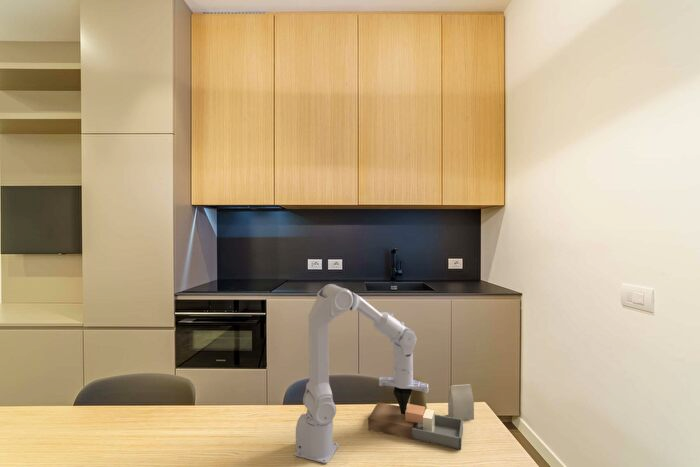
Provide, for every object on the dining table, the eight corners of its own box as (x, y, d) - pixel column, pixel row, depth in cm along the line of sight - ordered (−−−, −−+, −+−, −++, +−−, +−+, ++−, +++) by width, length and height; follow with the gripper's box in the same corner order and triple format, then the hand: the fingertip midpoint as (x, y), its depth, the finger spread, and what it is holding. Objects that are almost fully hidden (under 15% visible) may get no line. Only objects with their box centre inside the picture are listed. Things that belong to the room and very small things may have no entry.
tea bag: (473, 419, 106) (473, 387, 106) (453, 421, 105) (453, 388, 105) (468, 413, 109) (467, 381, 109) (448, 414, 108) (447, 383, 108)
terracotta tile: (405, 420, 99) (405, 411, 99) (408, 412, 103) (408, 403, 103) (422, 423, 97) (422, 415, 97) (425, 415, 102) (425, 406, 102)
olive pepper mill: (427, 419, 106) (427, 383, 106) (408, 417, 107) (407, 382, 107) (427, 409, 112) (427, 375, 112) (408, 407, 113) (408, 374, 113)
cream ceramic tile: (422, 417, 97) (431, 419, 96) (425, 408, 102) (434, 410, 101) (423, 434, 97) (431, 436, 96) (426, 425, 102) (434, 427, 101)
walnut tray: (368, 430, 100) (368, 418, 100) (378, 413, 110) (377, 402, 110) (412, 439, 96) (412, 426, 96) (418, 421, 105) (418, 409, 105)
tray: (412, 439, 96) (412, 428, 96) (418, 421, 105) (418, 411, 105) (460, 449, 91) (460, 438, 91) (463, 429, 100) (462, 419, 100)
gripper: (429, 365, 103) (430, 410, 103) (383, 359, 108) (383, 401, 108) (426, 374, 96) (426, 422, 96) (376, 367, 101) (377, 412, 101)
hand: (403, 412), depth 101 cm, fingers closed
